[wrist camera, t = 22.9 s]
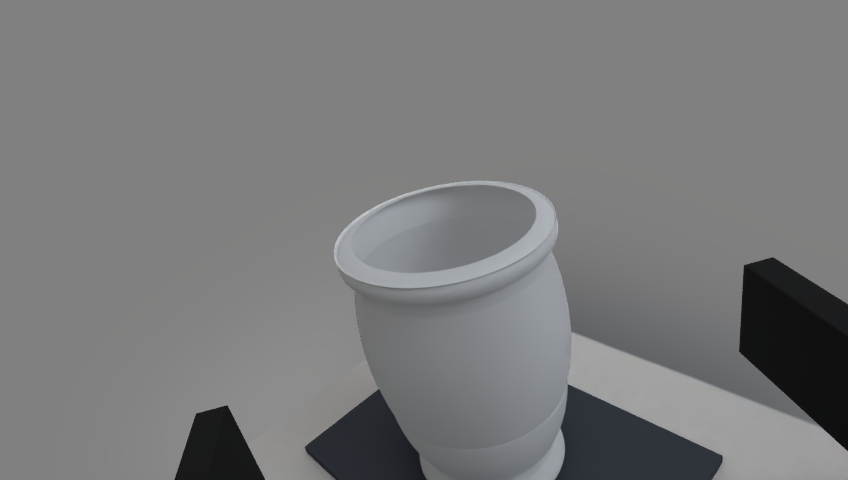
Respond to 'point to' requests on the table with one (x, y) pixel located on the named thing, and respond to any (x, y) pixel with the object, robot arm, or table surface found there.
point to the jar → (465, 325)
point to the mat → (581, 427)
